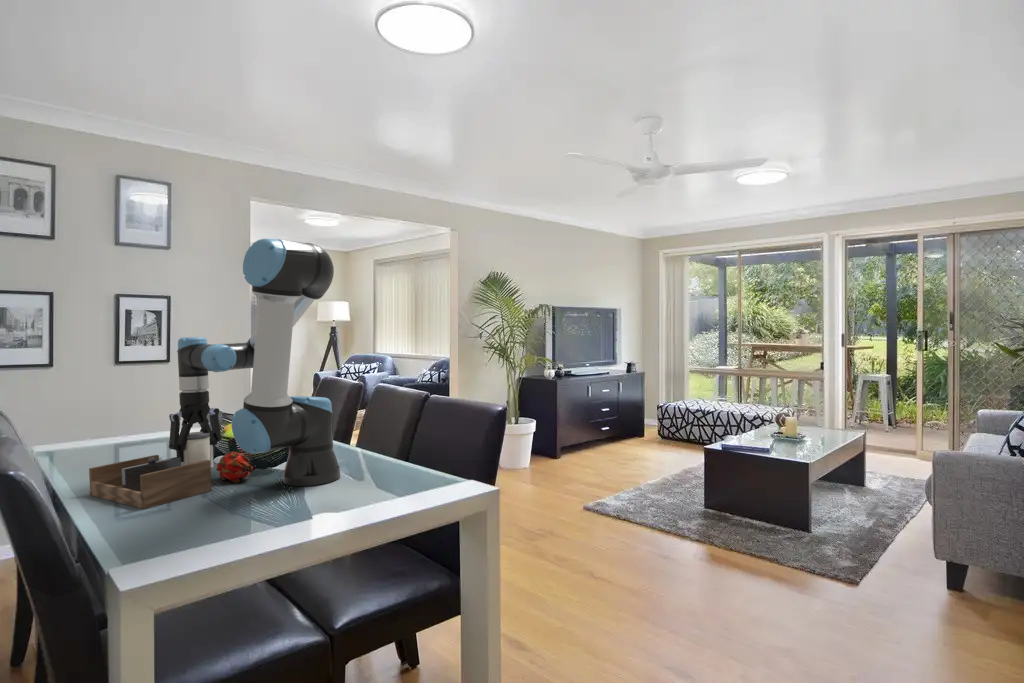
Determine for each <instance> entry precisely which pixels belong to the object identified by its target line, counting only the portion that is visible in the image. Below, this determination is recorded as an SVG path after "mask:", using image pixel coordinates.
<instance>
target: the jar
mask: <svg viewBox="0 0 1024 683" xmlns="http://www.w3.org/2000/svg"><path fill="white" fill-rule="evenodd" d="M184 450H187V455H188V464H192V463H196V462H201V461H205V460H210V432H203V431H192V432H191V431H190V433H189V436H187V442H186V446H185V449H184Z"/></svg>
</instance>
